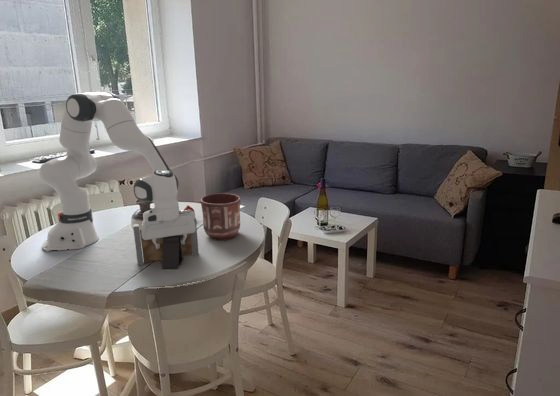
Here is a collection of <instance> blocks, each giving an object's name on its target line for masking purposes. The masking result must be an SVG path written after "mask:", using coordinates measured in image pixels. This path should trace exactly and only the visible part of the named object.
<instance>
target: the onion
mask: <svg viewBox="0 0 560 396" xmlns="http://www.w3.org/2000/svg"><path fill="white" fill-rule="evenodd" d="M183 210H192V211H194V212H195V210H194V208H193V207H191V206H190V205H189V204H186V207H185V208H184V209H183Z"/></svg>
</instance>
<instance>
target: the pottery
mask: <svg viewBox="0 0 560 396" xmlns="http://www.w3.org/2000/svg"><path fill="white" fill-rule="evenodd" d="M200 205H201V211H202V223H203V224H202V225H203V230H204V233H205V234H206V235H207V236H208V237H209V238H210V239H212V240H214V241H226V240H230V239H233V238H234V237H235V236H237V234H238V232H239V231H240V229H241V196H239V195H237V194H234V193H229V192H228V193H225V192H222V193H221V192H220V193H219V192H217V193H211V194H207V195H204V196H202V197H201V198H200Z"/></svg>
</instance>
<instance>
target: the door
mask: <svg viewBox="0 0 560 396" xmlns="http://www.w3.org/2000/svg"><path fill="white" fill-rule="evenodd" d="M139 231H140V239H141V248H142V256H143V264H145V263H150V262H156V261H161V260H162V261H163V238H156V242H157V243H159V244H160V248H159V249H156V245H155V244H154V243H153V242H152V239H149V240H144V239H143V238H142V234H141V227H139ZM179 236H180V240H181V239H182V238H183V234H182V235H179ZM181 248H182V254H183V257H185V256H191V255H193V251H192V239H191V233H189V234H187V237H186V239H185V245H181Z"/></svg>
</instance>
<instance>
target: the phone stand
mask: <svg viewBox="0 0 560 396" xmlns="http://www.w3.org/2000/svg"><path fill="white" fill-rule="evenodd" d="M183 261H184V256H183V254H182V248H181V242H180V236H179V235H176V236H169V237H163V259H162V262H161V263H162V265H161V266H162V268H161V269H163V270H165V269H166V270H179V267H180V266H181V264H182V262H183Z"/></svg>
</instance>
